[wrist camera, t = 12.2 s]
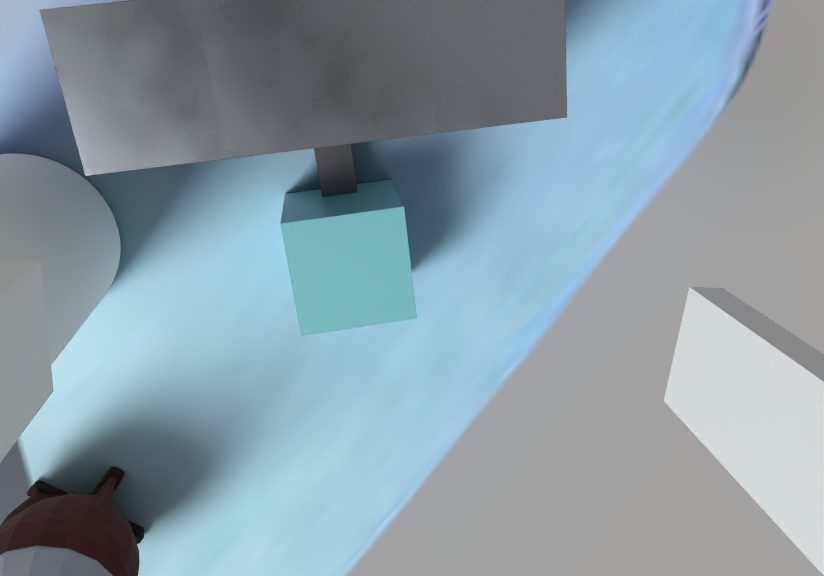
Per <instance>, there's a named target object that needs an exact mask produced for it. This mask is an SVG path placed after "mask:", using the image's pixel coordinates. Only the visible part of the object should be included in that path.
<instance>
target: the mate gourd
mask: <svg viewBox="0 0 824 576" xmlns="http://www.w3.org/2000/svg"><path fill="white" fill-rule="evenodd" d="M123 476H124V471H123V470H121V469H119V468H117V467H111V468H110V469H109V470H108V471H107V473H106V474H105V475H104V477H103V478H102V480H101V481H100V482H99V484H98V485H97V487H96V488H95V489H94V491H93V492H92V493H91V495H89V494H76V493H72V494H69V493H67V492H64V491H62V490H60V489H58V488H56V487H53V486H51V485H49V484H47V483H44V482H42V481H39V480H38V481H36V482H35V484H34V485H33V486H31V488H30V489H29V491H28V492H27V495H28V496H30V498H28V499H27V500H26V501H25V502H24V503H22V504H21V505H19V506H18V507H17V508H16V509H15V510H14V511H12V512H11V513H10V514H9V515H8V516H7V517H6V519H5V520H4V521H3V523H2V524H1V525H0V576H138V571H139V550H138V546H137V544H138V543H140V542H141V540H142V539H143V538H144V528H142V527H140V526H139V525H137V524H134V523H132V522H130V521H128V520H127V519H126V518H125V516H124V515H123V514H122V513H121V512H120V511H119V510H118V509H117V507H116V506H115V505H114V504H113V503H112V502H111V497H112V494H113V492H114V490H115V489H116V487H117V486H118V485H119V483H120V481H121V480H122V478H123Z"/></svg>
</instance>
